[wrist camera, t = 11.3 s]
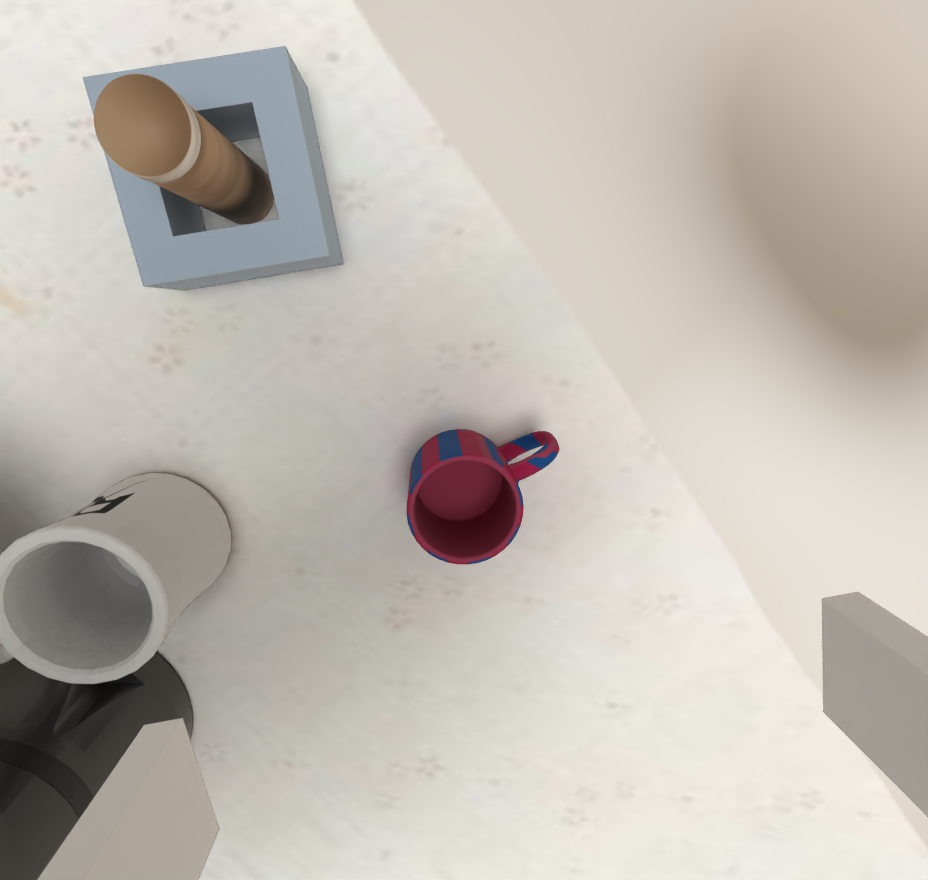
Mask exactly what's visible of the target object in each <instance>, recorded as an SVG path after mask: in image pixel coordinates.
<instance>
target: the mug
mask: <svg viewBox="0 0 928 880" xmlns="http://www.w3.org/2000/svg"><path fill="white" fill-rule="evenodd" d="M230 550H231V531H230V527H229V524H228V520H227V517H226V515H225V513H224V512H223V510H222V508H221V507H220V505H219V504H218V502H217V501H216V500H215V499H214V498H213V497H212V496H211V495H210V494H209V493H208V492H207V491H206V490H205V489H204V488H202V487H200V486H199V485H197V484H195V483H193V482H192V481H190V480H188V479H185V478H182V477H179V476H176V475H172V474H165V473H148V474H142V475H137V476H132V477H129V478H127V479H125V480H123V481H120V482H118V483H116V484H114V485H113V486H111V487H110V488H109V489H107V490H106V491H105V492H103V493H102V494H101V495H100V496H99V497H98V498H96V499H95V500H94V501H93V502H92V503H90V504H89V505H88V506H86V507H85V508H83V509H81V510H80V511H78V512H76V513H75V514H73V515H71V516H70V517H68V518H67V519H64V520H61V521H59V522H56V523H53V524H51V525H48V526H45V527H43V528H40V529H38V530H36V531H33V532H31V533H29V534H27V535H25V536H23V537H21V538H19V539H17V540H15V541H14V542H13V543H12V544H11V545H10V546H9V547H8V548H7V549H6V550H4V551H3V552H2V553H1V554H0V642H1V643H0V664H3V663H6V662H7V661H9V660H11V659H12V658H14V657H15V658H16V659H17V660H18V661H20V662H21V663H22V664H23V665H25V666H26V667H27V668H29V669H31V670H33V671H35V672H37V673H40V674H42V675H44V676H46V677H48V678H51V679H55V680H59V681H63V682H67V683H76V684H97V683H102V682H107V681H112V680H117V679H119V678H122V677H124V676H126V675H128V674H130V673H132V672H135V671H137V670H138V669H139V668H140V667H141V666H142V665H144V664H145V663H146V662H147V661H148V660H149V659H151V658H152V657H153V656H154V654H155V653H156V651H157V650H158V648H159V647H160V645H161V644H162V642H163V640H164V639H165V637H166V636H167V634H168V632H169V630H170V629H171V627H172V625H173V624H174V622H175V620H176V619H177V618H178V617H179V615H180V614H181V613H182V612H183V611H184V610H185V609H186V608H187V606H188V605H189V604H190V603H191V602H192V601H193V600H194V599H195V598H196V597H198V596H199V595H200V594H201V593H202V592H203V591H205V590H206V589H207V588H208V587H209V586H210V585H211V584H213V583H214V582H215V581H216V580H217V578H218V577H219V575H220V574H221V572H222V571H223V569H224V567H225V566H226V563H227V560H228V557H229V553H230Z"/></svg>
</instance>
